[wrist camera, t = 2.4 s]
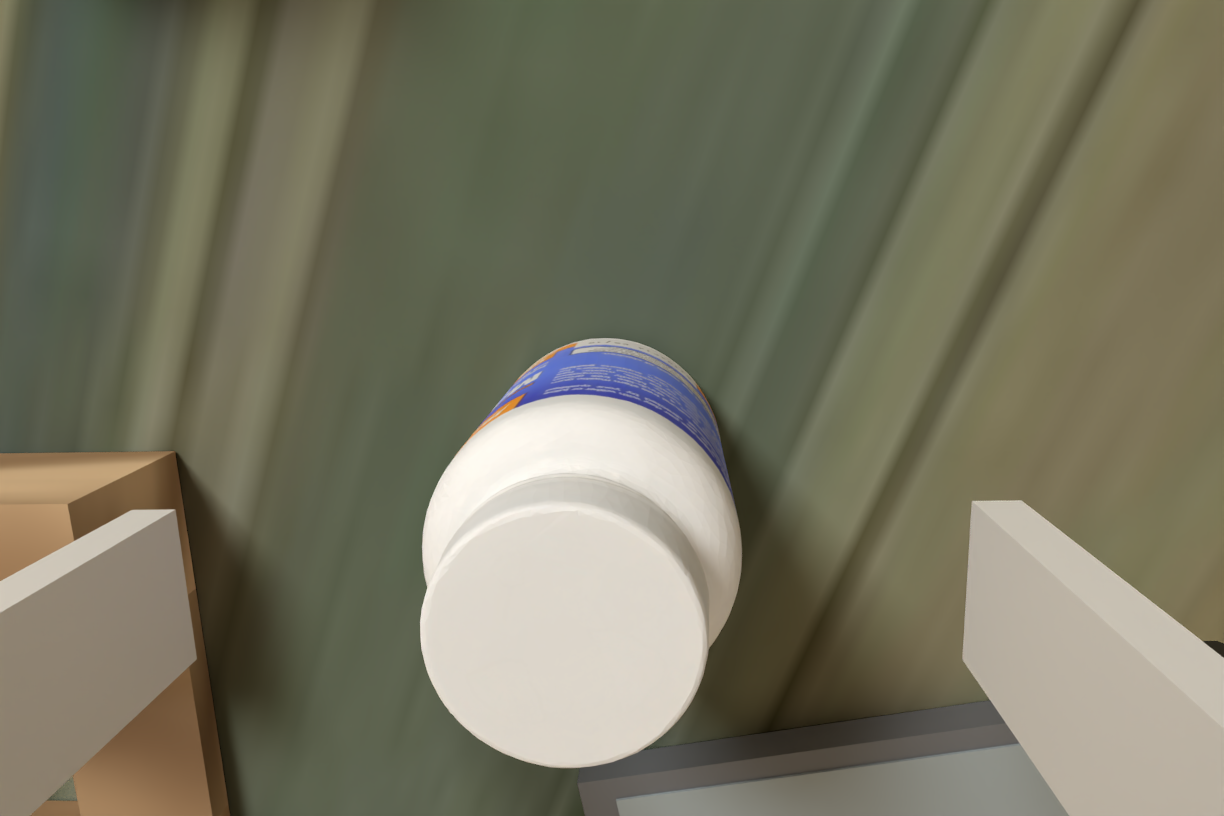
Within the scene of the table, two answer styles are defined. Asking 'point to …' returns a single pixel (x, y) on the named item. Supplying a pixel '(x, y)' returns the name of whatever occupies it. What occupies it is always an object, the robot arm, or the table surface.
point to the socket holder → (184, 713)
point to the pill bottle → (581, 558)
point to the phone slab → (834, 772)
